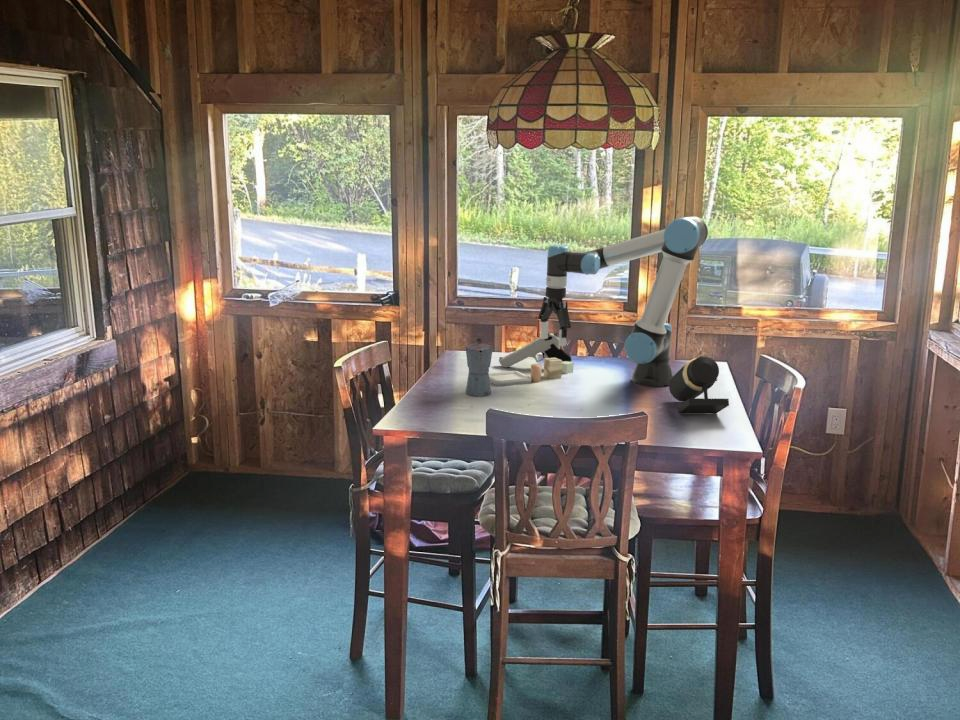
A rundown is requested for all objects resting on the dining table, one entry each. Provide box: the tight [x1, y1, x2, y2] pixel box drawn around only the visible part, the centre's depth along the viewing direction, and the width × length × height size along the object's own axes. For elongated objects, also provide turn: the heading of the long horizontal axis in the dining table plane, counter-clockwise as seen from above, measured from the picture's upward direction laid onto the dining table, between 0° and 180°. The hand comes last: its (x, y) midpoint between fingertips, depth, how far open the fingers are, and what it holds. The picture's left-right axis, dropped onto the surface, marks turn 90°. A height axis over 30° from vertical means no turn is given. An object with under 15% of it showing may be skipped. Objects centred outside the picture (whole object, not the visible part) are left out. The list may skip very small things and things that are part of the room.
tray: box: [488, 370, 532, 387], centre depth 337 cm, size 12×14×2 cm
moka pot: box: [465, 338, 494, 397], centre depth 317 cm, size 10×15×20 cm, turn 9°
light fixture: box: [668, 355, 730, 414], centre depth 302 cm, size 13×18×26 cm
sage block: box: [562, 361, 575, 375], centre depth 352 cm, size 4×4×4 cm
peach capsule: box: [530, 363, 543, 383], centre depth 337 cm, size 4×4×6 cm
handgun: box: [498, 331, 573, 368], centre depth 357 cm, size 4×28×15 cm, turn 84°
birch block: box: [543, 358, 563, 380], centre depth 343 cm, size 5×5×7 cm
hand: (553, 342), depth 341 cm, fingers open, 13 cm apart
